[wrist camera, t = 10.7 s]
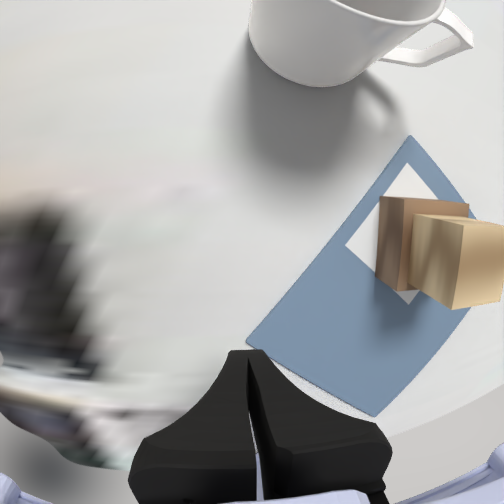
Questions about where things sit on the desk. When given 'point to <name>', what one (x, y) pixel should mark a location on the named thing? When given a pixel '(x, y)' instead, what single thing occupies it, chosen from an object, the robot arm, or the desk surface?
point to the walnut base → (404, 234)
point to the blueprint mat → (362, 302)
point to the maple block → (457, 260)
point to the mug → (347, 36)
